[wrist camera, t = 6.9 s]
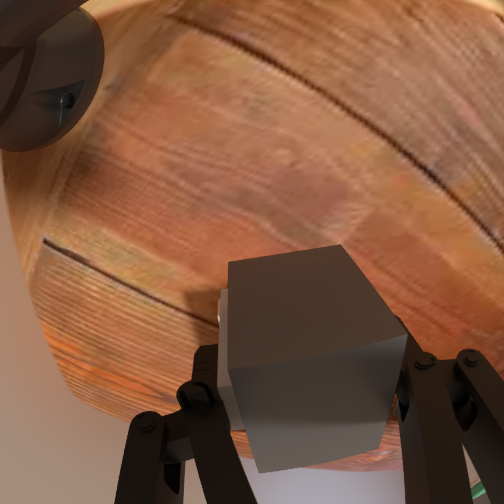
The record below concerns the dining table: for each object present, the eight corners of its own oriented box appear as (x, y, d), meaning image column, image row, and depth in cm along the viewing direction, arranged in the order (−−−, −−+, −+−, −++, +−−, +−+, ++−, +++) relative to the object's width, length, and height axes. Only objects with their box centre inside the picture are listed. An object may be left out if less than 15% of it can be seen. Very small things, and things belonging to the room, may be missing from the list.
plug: (248, 351, 18) (258, 473, 10) (228, 248, 15) (227, 369, 8) (333, 336, 18) (378, 448, 10) (330, 232, 15) (407, 334, 8)
